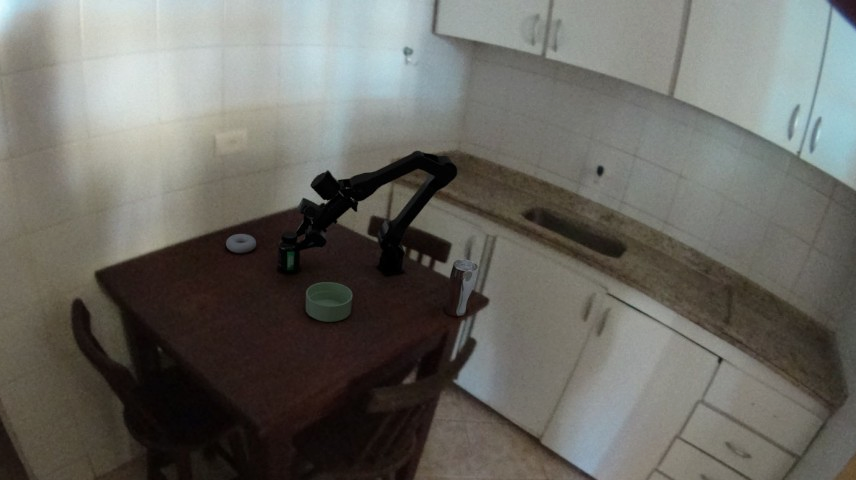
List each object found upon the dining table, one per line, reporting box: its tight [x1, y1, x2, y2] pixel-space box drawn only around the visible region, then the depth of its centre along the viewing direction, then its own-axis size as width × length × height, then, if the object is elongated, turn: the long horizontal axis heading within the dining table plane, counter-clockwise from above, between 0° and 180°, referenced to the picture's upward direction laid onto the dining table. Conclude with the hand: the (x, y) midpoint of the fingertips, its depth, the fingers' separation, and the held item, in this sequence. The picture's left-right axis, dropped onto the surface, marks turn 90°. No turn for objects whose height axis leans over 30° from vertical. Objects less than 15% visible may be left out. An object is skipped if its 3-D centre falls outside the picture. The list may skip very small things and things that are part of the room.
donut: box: [225, 233, 257, 254], centre depth 202 cm, size 10×4×10 cm
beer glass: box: [444, 259, 479, 318], centre depth 171 cm, size 7×7×15 cm
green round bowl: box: [304, 281, 354, 323], centre depth 173 cm, size 13×13×6 cm
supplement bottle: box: [277, 230, 301, 275], centre depth 189 cm, size 7×7×12 cm
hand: (295, 243), depth 187 cm, fingers open, 9 cm apart
